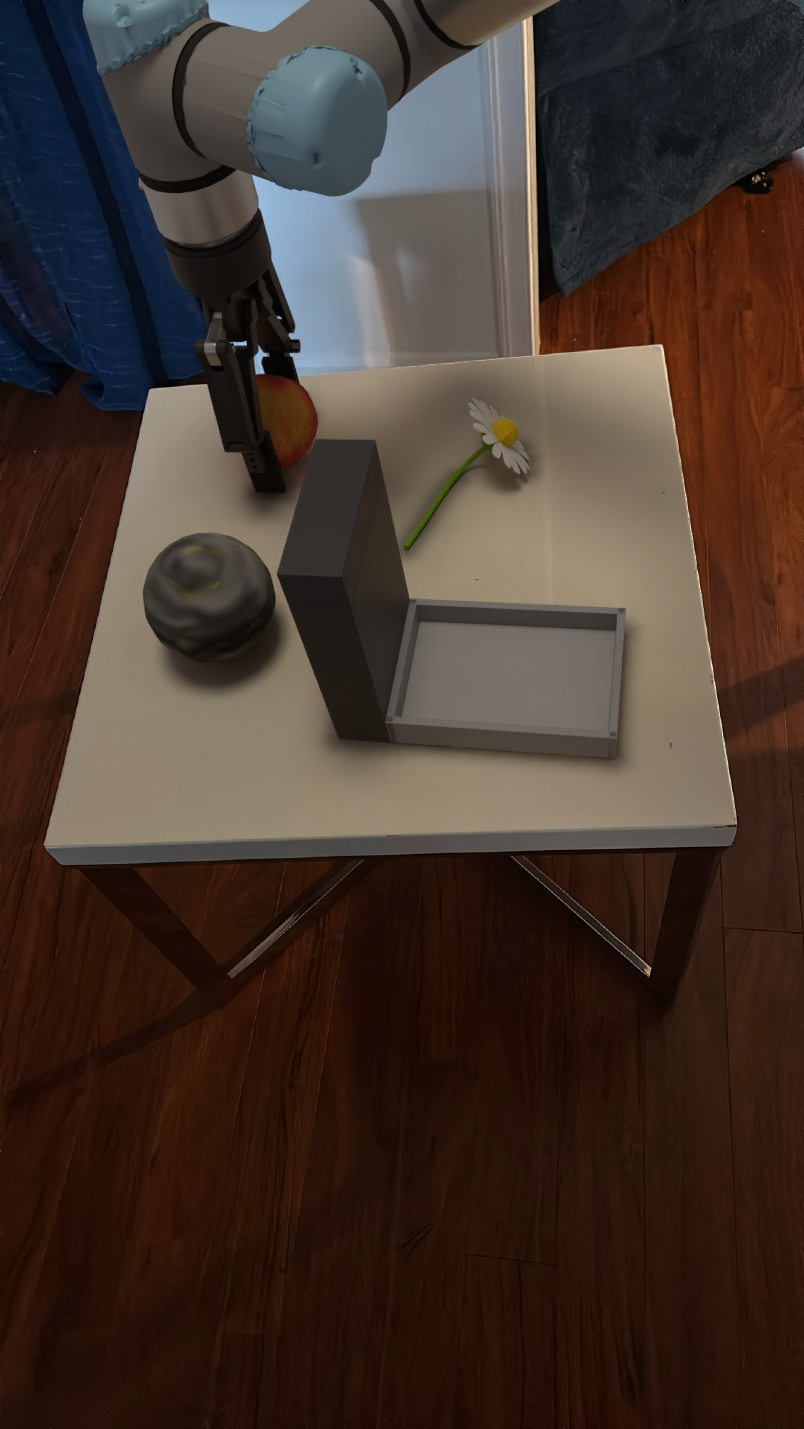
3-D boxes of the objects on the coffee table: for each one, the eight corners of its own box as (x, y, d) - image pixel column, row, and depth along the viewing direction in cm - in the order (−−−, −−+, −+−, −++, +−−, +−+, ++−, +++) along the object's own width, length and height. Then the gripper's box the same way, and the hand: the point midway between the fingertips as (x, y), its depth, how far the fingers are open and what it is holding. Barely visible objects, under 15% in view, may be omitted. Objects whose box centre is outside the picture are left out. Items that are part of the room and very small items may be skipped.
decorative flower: (413, 492, 79) (500, 367, 85) (371, 515, 84) (456, 396, 91) (481, 561, 82) (561, 435, 88) (436, 579, 87) (514, 459, 93)
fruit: (342, 432, 94) (324, 360, 88) (301, 495, 91) (280, 425, 84) (267, 416, 97) (244, 345, 90) (225, 476, 93) (198, 407, 87)
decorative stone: (267, 696, 80) (231, 617, 72) (150, 681, 82) (102, 603, 74) (303, 594, 85) (274, 509, 76) (191, 583, 87) (151, 499, 79)
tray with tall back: (624, 630, 79) (637, 442, 63) (615, 759, 73) (627, 588, 57) (365, 617, 83) (315, 438, 67) (338, 738, 77) (276, 574, 61)
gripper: (198, 138, 81) (269, 371, 100) (116, 316, 70) (213, 540, 89) (291, 133, 79) (344, 372, 98) (221, 315, 69) (297, 543, 88)
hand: (282, 451), depth 94 cm, fingers closed on fruit, 8 cm apart
